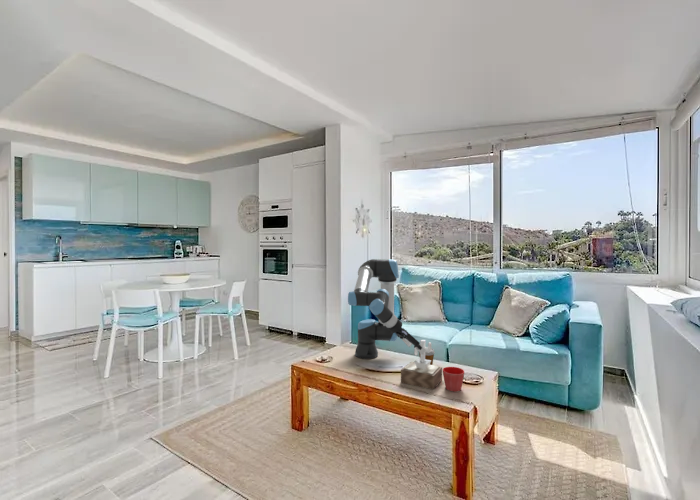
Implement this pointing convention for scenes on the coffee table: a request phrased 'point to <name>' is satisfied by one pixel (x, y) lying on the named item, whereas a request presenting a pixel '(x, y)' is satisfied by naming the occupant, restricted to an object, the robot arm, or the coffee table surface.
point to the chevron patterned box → (421, 375)
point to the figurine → (422, 356)
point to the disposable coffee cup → (429, 356)
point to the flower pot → (453, 378)
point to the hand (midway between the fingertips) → (417, 348)
